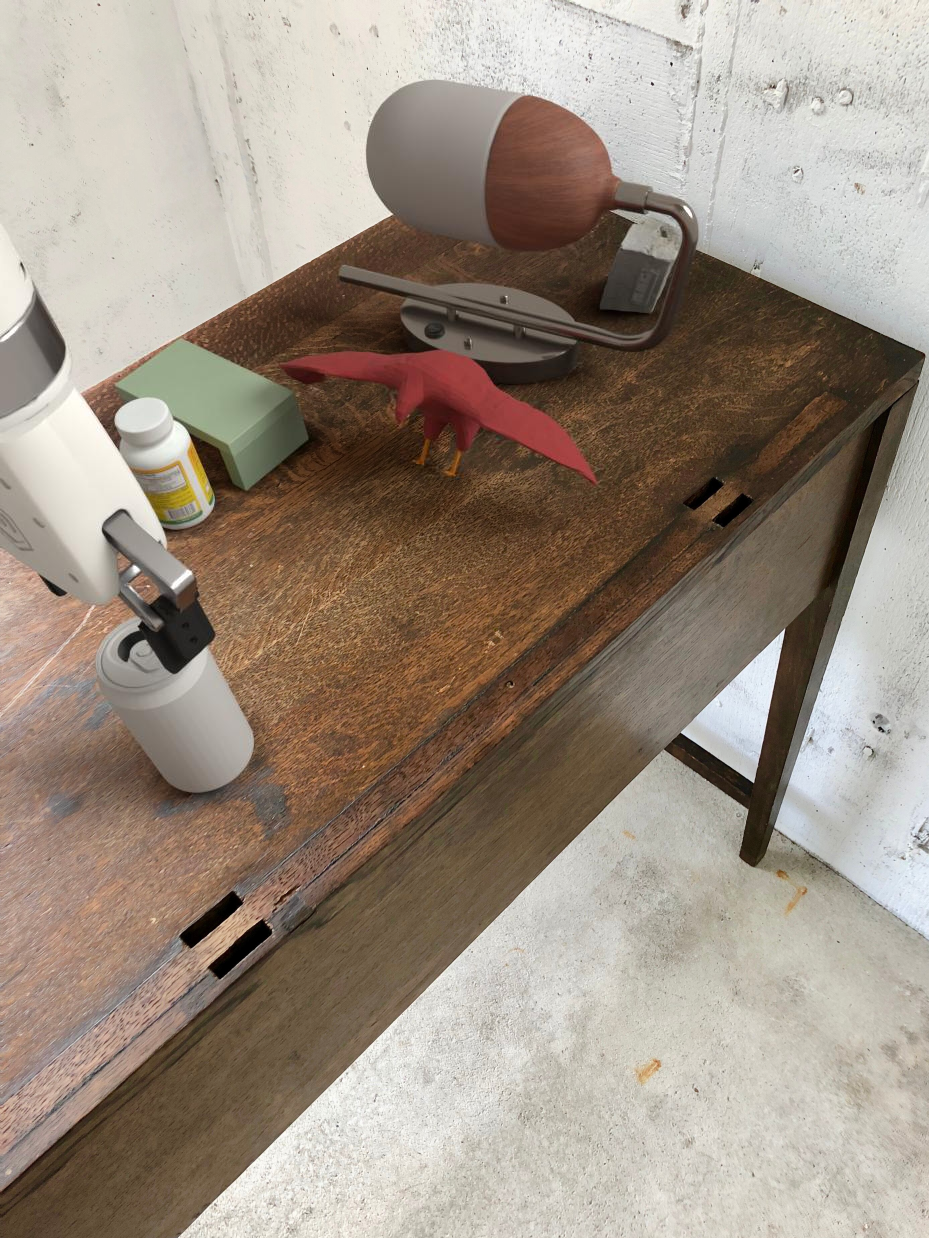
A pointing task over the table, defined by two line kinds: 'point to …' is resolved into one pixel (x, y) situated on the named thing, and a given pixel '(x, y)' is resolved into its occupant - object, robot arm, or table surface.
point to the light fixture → (503, 220)
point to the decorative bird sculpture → (448, 400)
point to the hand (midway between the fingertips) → (133, 615)
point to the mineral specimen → (641, 266)
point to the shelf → (222, 407)
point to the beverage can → (175, 711)
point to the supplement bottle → (164, 463)
